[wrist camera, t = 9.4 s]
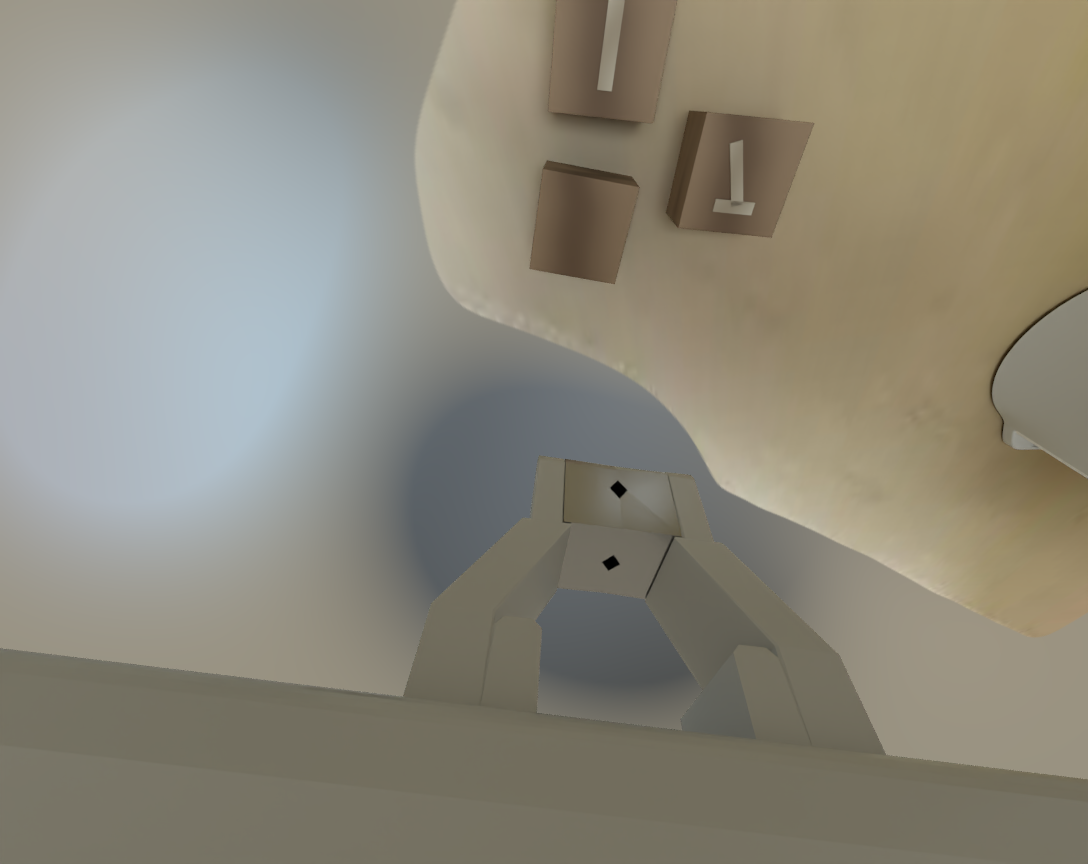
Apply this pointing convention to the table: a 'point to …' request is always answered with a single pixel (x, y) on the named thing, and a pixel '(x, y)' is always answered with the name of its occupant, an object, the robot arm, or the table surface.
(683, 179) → the numbered block 7
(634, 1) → the numbered block 1
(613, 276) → the plain block
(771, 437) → the table surface
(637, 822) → the robot arm
